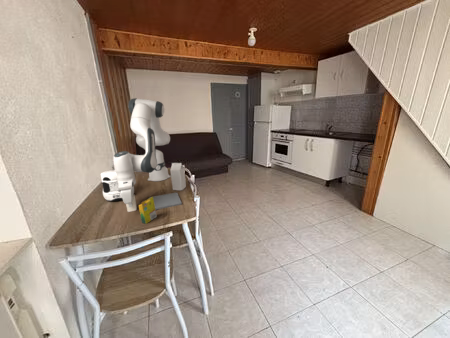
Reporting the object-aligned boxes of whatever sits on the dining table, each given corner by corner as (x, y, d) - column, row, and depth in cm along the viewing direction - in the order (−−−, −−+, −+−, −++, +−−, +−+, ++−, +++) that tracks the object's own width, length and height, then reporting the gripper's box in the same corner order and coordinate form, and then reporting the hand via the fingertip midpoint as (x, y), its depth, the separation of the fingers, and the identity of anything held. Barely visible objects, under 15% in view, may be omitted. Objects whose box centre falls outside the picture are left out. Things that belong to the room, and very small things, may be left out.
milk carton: (182, 190, 132) (179, 164, 127) (172, 190, 134) (169, 164, 128) (186, 186, 139) (183, 161, 134) (177, 186, 140) (174, 161, 135)
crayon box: (152, 215, 100) (149, 195, 96) (157, 216, 98) (153, 196, 95) (141, 223, 93) (137, 201, 90) (145, 224, 92) (141, 202, 89)
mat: (148, 198, 121) (148, 197, 120) (177, 193, 127) (177, 192, 127) (149, 211, 105) (148, 209, 104) (181, 204, 111) (181, 202, 111)
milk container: (124, 190, 137) (119, 167, 132) (139, 195, 128) (134, 169, 123) (99, 200, 123) (92, 173, 118) (114, 205, 114) (107, 177, 109)
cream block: (128, 208, 109) (125, 195, 107) (136, 206, 111) (134, 194, 108) (127, 212, 105) (124, 198, 103) (136, 210, 107) (133, 197, 104)
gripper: (122, 177, 111) (126, 198, 115) (117, 188, 93) (123, 213, 97) (134, 175, 114) (138, 196, 117) (131, 186, 95) (136, 210, 99)
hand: (131, 204), depth 107 cm, fingers closed on cream block, 4 cm apart
